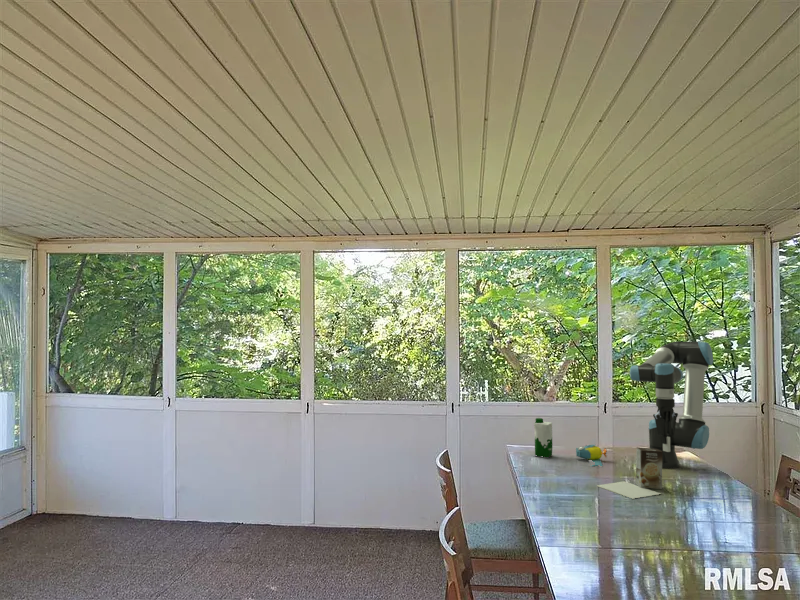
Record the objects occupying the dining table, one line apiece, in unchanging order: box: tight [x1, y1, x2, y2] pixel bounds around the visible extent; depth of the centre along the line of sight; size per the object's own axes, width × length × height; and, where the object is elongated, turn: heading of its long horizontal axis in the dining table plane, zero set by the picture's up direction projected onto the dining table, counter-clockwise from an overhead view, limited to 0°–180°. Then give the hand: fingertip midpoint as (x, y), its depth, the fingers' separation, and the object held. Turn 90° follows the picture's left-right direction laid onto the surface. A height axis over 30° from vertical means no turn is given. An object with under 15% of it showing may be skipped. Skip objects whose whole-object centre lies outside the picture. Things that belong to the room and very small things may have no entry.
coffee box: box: [635, 447, 663, 490], centre depth 236 cm, size 9×6×16 cm
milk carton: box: [533, 417, 553, 458], centre depth 295 cm, size 9×9×20 cm
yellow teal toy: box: [575, 444, 608, 467], centre depth 285 cm, size 28×9×15 cm
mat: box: [596, 480, 662, 500], centre depth 231 cm, size 16×20×1 cm
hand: (666, 451), depth 240 cm, fingers closed
